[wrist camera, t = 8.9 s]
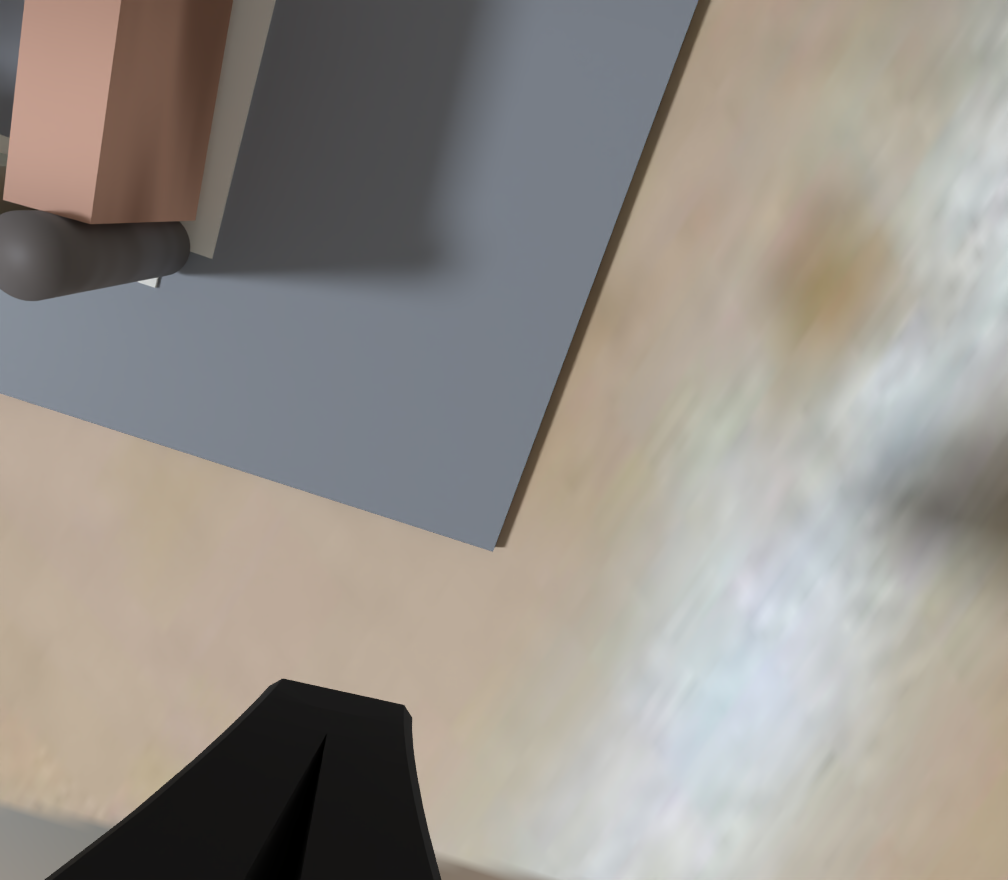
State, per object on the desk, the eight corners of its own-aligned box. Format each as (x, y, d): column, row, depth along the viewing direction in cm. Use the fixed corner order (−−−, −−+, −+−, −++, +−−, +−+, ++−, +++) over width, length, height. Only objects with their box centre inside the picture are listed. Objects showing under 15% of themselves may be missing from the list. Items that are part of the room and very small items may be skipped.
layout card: (-378, 267, 16) (-391, 269, 16) (-320, -793, 12) (-338, -815, 12) (492, 548, 18) (493, 552, 17) (807, -299, 13) (813, -309, 13)
